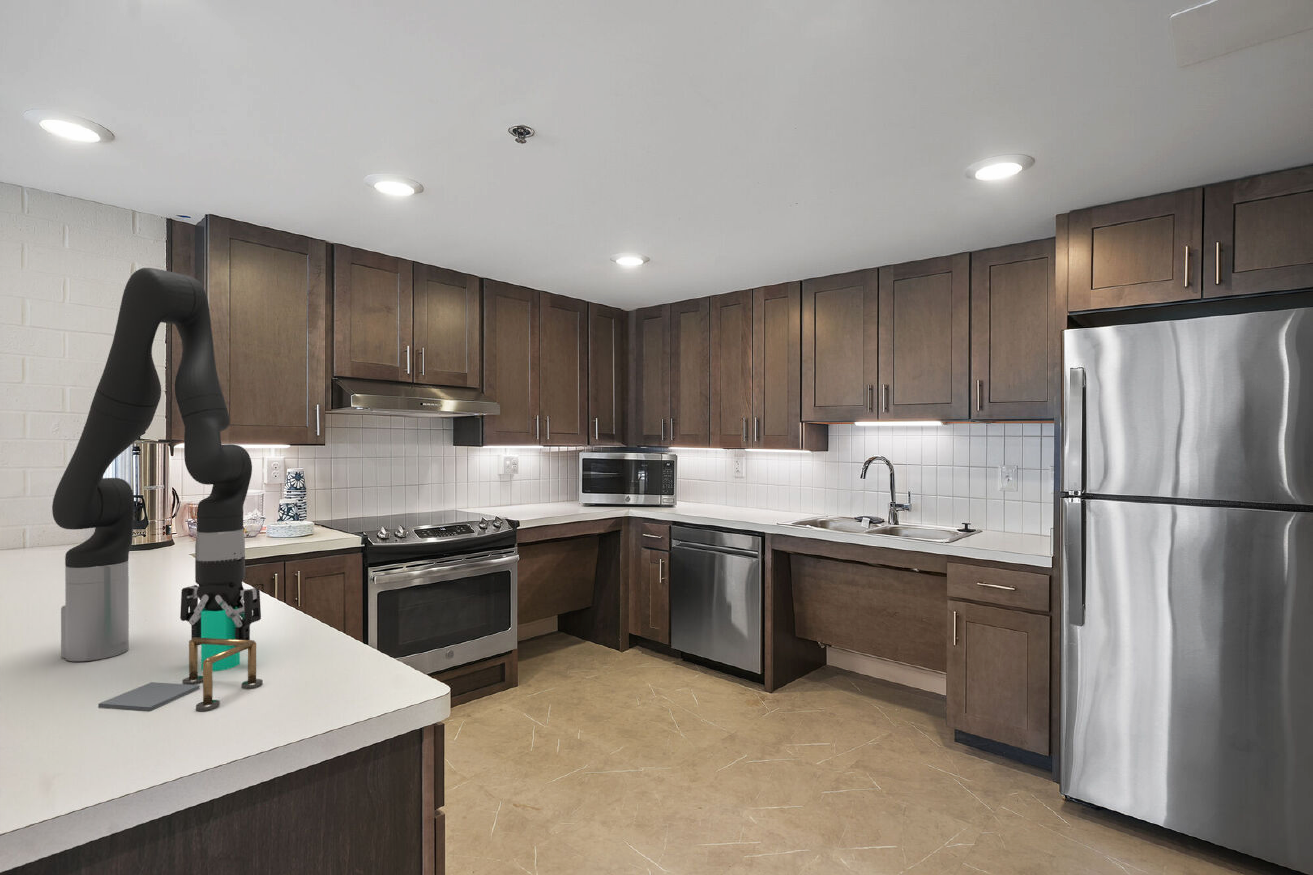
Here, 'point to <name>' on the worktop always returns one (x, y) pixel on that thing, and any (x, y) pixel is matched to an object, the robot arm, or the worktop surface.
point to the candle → (219, 628)
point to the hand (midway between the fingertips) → (220, 645)
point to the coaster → (149, 696)
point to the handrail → (207, 664)
